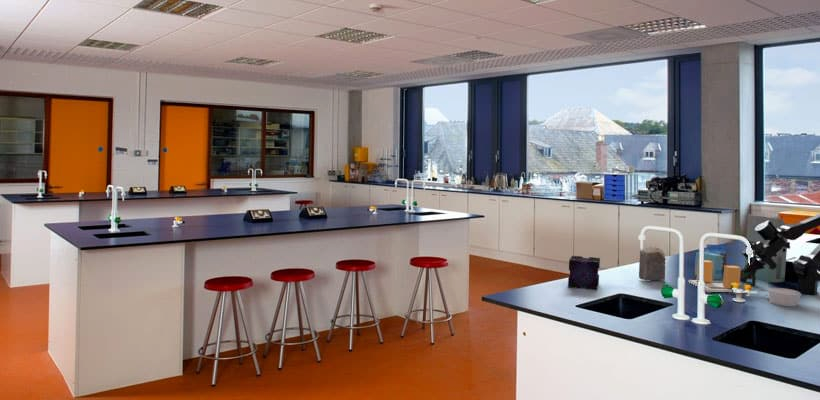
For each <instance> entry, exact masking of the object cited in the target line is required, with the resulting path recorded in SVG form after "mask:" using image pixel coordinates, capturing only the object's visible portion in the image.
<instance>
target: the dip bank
mask: <svg viewBox="0 0 820 400" xmlns="http://www.w3.org/2000/svg"><path fill="white" fill-rule="evenodd" d="M688 282H689V283H688ZM688 282H687V283H688V284H690V283H691V285H692V284H693V286H694V285H695V286H694V287H696V286H697V282H698V280H696V279H695V280H694V279H688ZM704 292H706V293H711V292H732V288H726V287H724V286H723V280H713V281H712V282H705V291H704Z"/></svg>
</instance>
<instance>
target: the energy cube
mask: <svg viewBox="0 0 820 400" xmlns="http://www.w3.org/2000/svg"><path fill="white" fill-rule="evenodd" d="M600 264H601V258H600V257H593V256H592V257H591V256H589V257H583V256H581V255H571V256H570V258H569V262H568V271H569V276H568V279H567V288H571V289H573V288H574V289H579V288H584V289H586V290H590V291H598V287H599V283H600V280H599V279H600V275H599V269H600V268H601V267H600Z"/></svg>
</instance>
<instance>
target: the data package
mask: <svg viewBox="0 0 820 400" xmlns="http://www.w3.org/2000/svg"><path fill="white" fill-rule="evenodd" d="M699 252H700V251H697V252H696V253H695V262H694V275H695V276H696V275H697V264H698V260H699ZM703 252H704V260H708V261H711V262H713V271H712V281H721V279H722V277H723V276H722V275H723V269H722V263H723V257H722V256H721V255H719V254H714V253H709V252H706V251H703Z"/></svg>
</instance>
